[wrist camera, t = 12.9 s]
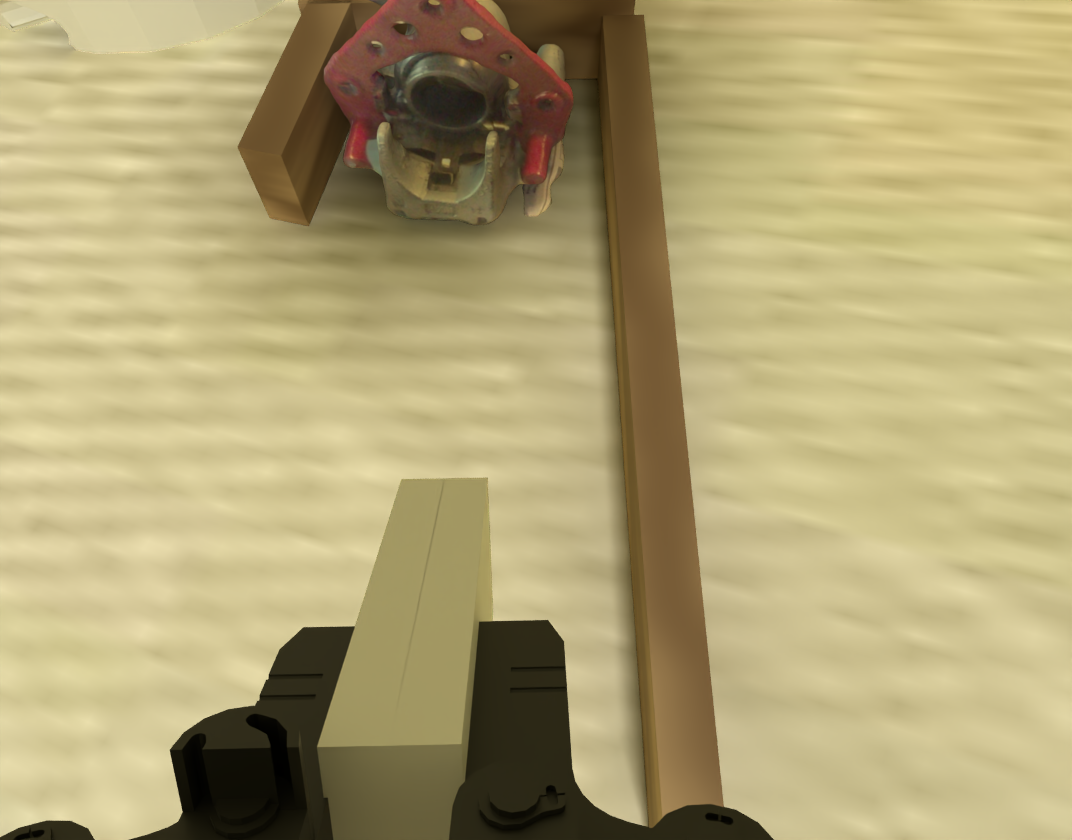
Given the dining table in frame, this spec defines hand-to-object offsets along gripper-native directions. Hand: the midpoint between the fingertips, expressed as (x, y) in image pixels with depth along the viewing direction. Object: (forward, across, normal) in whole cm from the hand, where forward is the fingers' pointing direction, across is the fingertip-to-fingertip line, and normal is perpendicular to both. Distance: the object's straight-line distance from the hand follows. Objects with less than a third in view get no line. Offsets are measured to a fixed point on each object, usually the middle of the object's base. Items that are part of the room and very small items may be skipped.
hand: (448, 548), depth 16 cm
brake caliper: (+33, -2, +4) cm, 33 cm away
